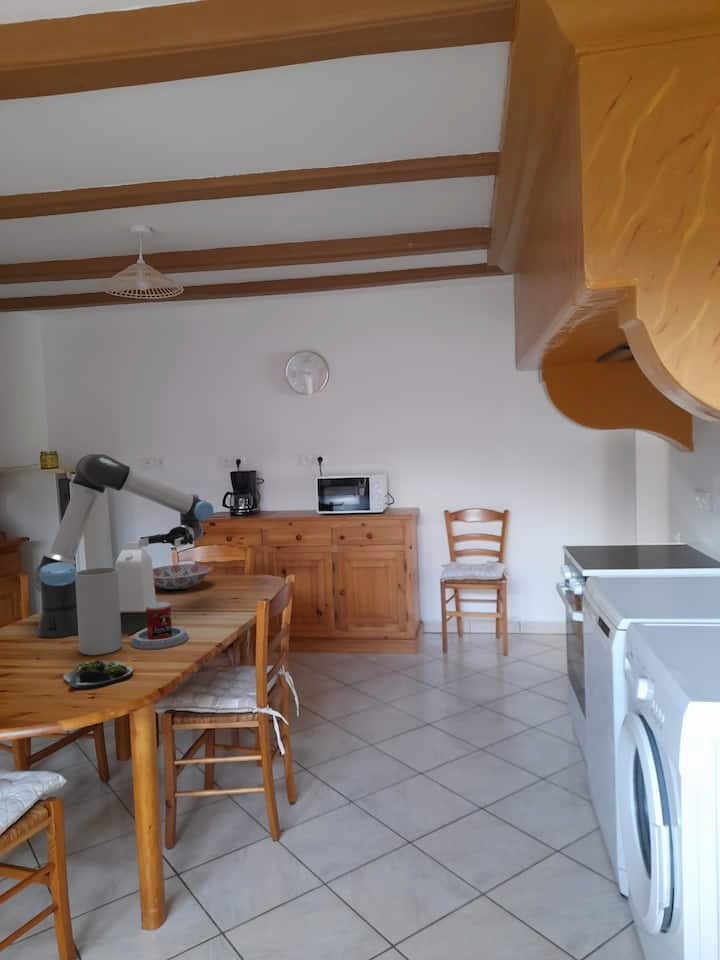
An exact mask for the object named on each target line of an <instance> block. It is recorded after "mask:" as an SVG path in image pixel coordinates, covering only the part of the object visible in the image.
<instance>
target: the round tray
mask: <svg viewBox="0 0 720 960" xmlns="http://www.w3.org/2000/svg"><path fill="white" fill-rule="evenodd" d="M188 641H189V634H188V633H187V632H186V629H185V628H184V627H183V628H182V627H179V626H172V636H171V637H169V638H165V639H156V640H149V639H148V633H147V629H143V630H140V631H139V632H136V633H134V635H133V637H132V638H131V640H130V646H131V648H134V649H137V650H144V651H151V650H155V651H156V650H164V649H170V648H174V647H177V646H180V645H182V644H185V643H186V642H188Z"/></svg>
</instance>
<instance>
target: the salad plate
mask: <svg viewBox="0 0 720 960" xmlns="http://www.w3.org/2000/svg"><path fill="white" fill-rule="evenodd" d="M133 674H134V668H132V667H131V666H128V665H127V664H126V665H125V664H124V663H122V662H121V661H105V662H103V661H101V660H99V659H98V660H97V659H95V660H93V661H91V662H89V661H85V662H84V663H78V664H77V665H76V666H75V669H73V670H71V671H68V672H65V674H64V675H63V679H64V681H66V682H67V683H68V686H69V687H70V688H71V687H72V688H76V689H78V690H92V689H98V688H103V687H107V686H110V685H114V684H117V683H120V682H123V681H125V680H127V679H129V678H130V677H132V675H133Z"/></svg>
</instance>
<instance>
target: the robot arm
mask: <svg viewBox="0 0 720 960" xmlns="http://www.w3.org/2000/svg"><path fill="white" fill-rule="evenodd" d="M71 485H72V488H73V492H72V495H71V496H70V499H69V501H68V505H67V507H66V510H65V513H64V514H63V517H62V520H61V523H60V524H59V527H58V530H57V533H56V535H55V537H54V540H53V543H52V545H51V547H50V550H49V551H48V552H46V553H44V554H43V556H42V558H41V561H40V563H39V564H38V565H37V566H36V568H35V569H34V571H33V572H34V573H33V575H32V580H33V584H34V587H35V588H36V590H37V591H38V592H39V593H40V597H41V599H40V600H41V615H40V618H39V619H40V620H39V623H38V626H37V636H38V637H39V636H40V637H39V638H45V639H55V638H64V637H65V638H66V637H69V636H74V635H77V634H78V617H77V600H76V582H75V573H76V572H78V571H77V567H76V566H77V562H76V560H75V556H76V554H77V551H78V549H79V546H80V543H81V540H82V538H83V536H84V533H85V530H86V528H87V526H88V523H89V520H90V518H91V515H92V513H93V510H94V507H95V504H96V502H97V499H98V498H99V497H101V496H102V495H104V494H105V490H106V488H108V489H113V490H115V491H118V492H121V491H125V492H127V493H130V494H133V495H135V496H138V497H140V498H143V499H145V500H148V501H151V502H152V503H156V504H158V505H161V506H163V507H166V508H168V509H171V510H173V511H176V512H179V519H180V521H179V522H180V524H179V525H178V526H175V527H173V528H171V529H170V530H169V531H168V532H167V533H163V534H161V533H158V534H155V535H154V534H153V535H149V536H141V537H140V539H138V542H139V548H141V547H143V548H144V547H148V546H149V545H153V544H171V545H172V546H173V547H174V548H175V549H176V548H180V547H181V546H184V547H185V546H186V545H188V544H189V545H193V544H194V542H195V541H197V540H199V539H200V538H201V537H202V536H203V534H204V528H203V525H202V524H201V523H200V521H202V522H203V521H207V520H210V519H211V518H212V516H213V514H214V506H213V505H212V504H211V502H209V501H206V500H203V499H200V498H199V494H198V493H186V492H183V491H181V490H179V489H176V488H174V487H171V486H169V485H167V484H165V483H162V482H159V481H157V480H154V479H153V478H150V477H147V476H145V475H143V474H140V473H138V472H135V471H133V470H132V467H131V466H129V465H126V464H125V463H122V462H120V461H118V460H117V459H115V458H113V457H111V456H109V455H106V454H105V453H104V454H101V453H99V454H98V453H90V454H86V455H84V456H83V457H82V458H80V459H79V460H78V462H77V464H76V466H75V475H74V477H73V480H72V482H71ZM78 635H79V634H78Z"/></svg>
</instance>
